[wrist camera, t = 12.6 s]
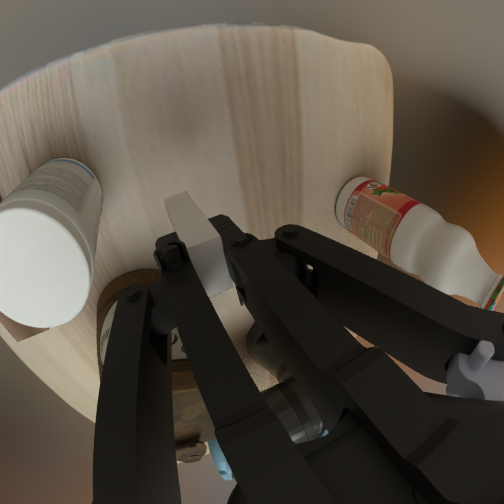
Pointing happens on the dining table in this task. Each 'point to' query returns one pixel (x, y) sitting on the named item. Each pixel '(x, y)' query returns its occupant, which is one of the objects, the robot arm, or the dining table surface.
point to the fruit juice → (418, 240)
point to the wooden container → (183, 382)
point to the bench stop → (19, 326)
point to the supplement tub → (49, 243)
